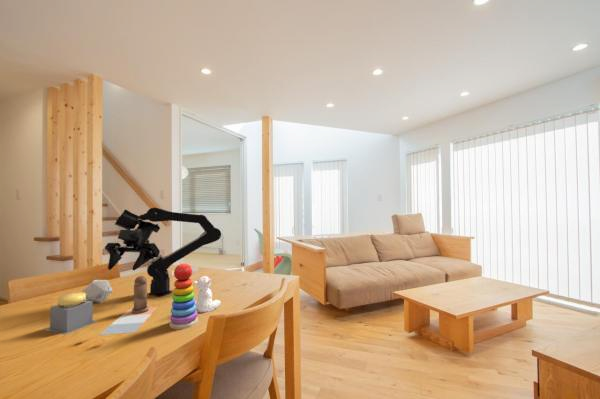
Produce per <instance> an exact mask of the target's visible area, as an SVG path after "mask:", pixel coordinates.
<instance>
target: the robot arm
mask: <svg viewBox="0 0 600 399" xmlns="http://www.w3.org/2000/svg"><path fill="white" fill-rule="evenodd" d="M168 221H169V222H170V221H171V222H185V223H193V224H194V223H195V224H199V225H200V227H201V228H202V229H203V232H202V233H201V234H200V235H199V236H198V237H197V238H195V239H194V240H192V241H190V242H188V243H186V244H185V245H183V246H181V247H180V248H178V249H176V250H175V251H173V252H172V253H171V252H170V253H169V254H168V255H165V256H162V254H161V250H160V249H159V248H158V246H157V244H155V242H150V240H149V239H150V237H151V235H152V234H153V232H154V233H158V232H159V231H160V230H161V227H160V226H159V222H168ZM157 222H158V223H157ZM156 223H157V224H156ZM114 225H115V226H117V227H119V228H122V229H119V233H118V236H117V240H121V241H123V242H122V244H123V245H122V244H120V242H108V243H106V245H105V246H104V250H106V251H107V253H108V254H109V258H108V259H109V260H108V265H107V270H109V271H110V270H112V269H113V268H114V267H115V266H116V265H117V264H118V263H119V261H120V260H121V259H122V258H123V257H122V256H124V254H125V253H134V254H135V253H138V257H137V258H136V260H135V262H134V264H133V266H132V268H131V270H132V271H136V270H137V269H138V268H140V267H141V266H143V265H144V264H146V263H147V262H149V261H150V260H151V261H150V262H149V263H147V264H148V265H147V268H146V272H147V274H148V276H149V277H151V281H150V285H149V286H150V287H149V289H150V292H149V293H148V292H147V296H154V297H162V296H165V295H168V294H171V293H173V290H170V287H171V286H170V284H171V283H170V281H171V280H170V275H169V268H170V267H171V266H172V265H173V264H175V263H176V262H178V261H180V260H181V259H183V258H185V257H186V256H188V255H190V254H192V253H193V252H194V251H196V250H198V249H200V248H201V247H203V246H206V245H209V244H212V243H214V242H216V241H219V240H220V239H221V237H222V232H221V230H220V229H219V228H216V227H215V226H214V225H213V224H212V223H211V222H210V221H209V219H208V218H207V216H206V215H204V214H193V213H186V212H175V211H170V210H166V209H164V208H163V209H162V208H159V207H151V208H149V209H148V210H147V211H146V213H142V214H140V215H137V214H136V213H133V212H131V211H130V210H128V209H124V210H123V212H122V213H121V214H120V216H118V218H117V219H116V221H115V223H114ZM137 225H138V226H137ZM124 245H125V246H124Z"/></svg>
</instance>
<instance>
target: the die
mask: <svg viewBox="0 0 600 399" xmlns="http://www.w3.org/2000/svg"><path fill="white" fill-rule="evenodd" d="M109 282H110V281H109V280H108V279H94V280H92V282H90V283H89V284H88V285H87V286H86V287H84V288H83V289H82V293H86V301H92V302H93V304H94V303H95V302H96V303H99V304H101V303H103V302H104V301H105V300H106V299H107V298H108V297H109V296H110V295H111V294H112V293H113V292H114V291H113V288H112V286H111V284H110V283H109ZM96 303H95V304H96Z"/></svg>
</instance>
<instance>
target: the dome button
mask: <svg viewBox="0 0 600 399" xmlns="http://www.w3.org/2000/svg"><path fill="white" fill-rule="evenodd" d="M84 301H87V299H86V293H83V292H72V293H67V294H64V295H59V296H58V298H57V305H59V306H64V307H66V308H70V307H74V306H77V305H80V303H82V302H84Z"/></svg>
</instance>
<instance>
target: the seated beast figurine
mask: <svg viewBox="0 0 600 399" xmlns="http://www.w3.org/2000/svg"><path fill="white" fill-rule="evenodd" d="M193 283H194V285H195V286H197V289H199V291H198V294H197V300H195V306H196V311H197V313H207V312H208V313H211V312H212V311H214V310H216V309H217V308H219V307H220V306H221V303H222V302H221V300H219V299H214V300H213V291H212V290H211V289H210V287H211V285H212V278H209V277H208V276H207V275H204V276H201V277H199V278H198V279H197V280H194V281H193Z"/></svg>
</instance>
